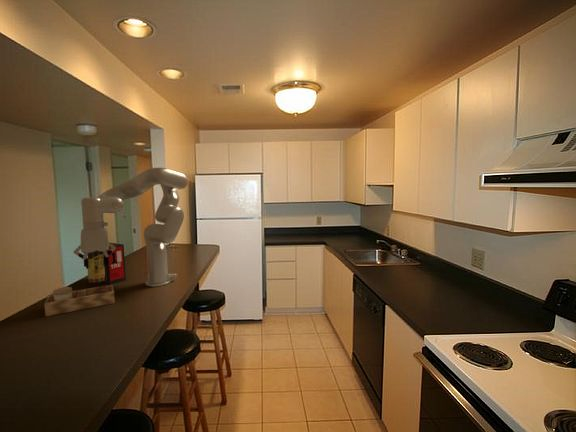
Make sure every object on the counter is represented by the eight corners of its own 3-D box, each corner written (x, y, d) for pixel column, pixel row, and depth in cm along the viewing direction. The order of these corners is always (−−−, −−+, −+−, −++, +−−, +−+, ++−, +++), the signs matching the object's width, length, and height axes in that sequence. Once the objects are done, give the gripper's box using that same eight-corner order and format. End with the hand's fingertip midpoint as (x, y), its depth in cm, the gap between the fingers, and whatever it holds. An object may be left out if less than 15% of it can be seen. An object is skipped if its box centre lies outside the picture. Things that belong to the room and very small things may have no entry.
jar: (74, 303, 128) (72, 285, 127) (73, 308, 123) (71, 290, 122) (55, 307, 125) (53, 288, 124) (53, 312, 120) (52, 293, 119)
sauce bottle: (96, 284, 126) (94, 237, 124) (84, 283, 127) (81, 237, 125) (109, 279, 132) (106, 235, 130) (97, 278, 133) (94, 234, 131)
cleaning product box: (125, 280, 162) (123, 244, 160) (109, 285, 154) (107, 247, 152) (107, 276, 170) (105, 241, 168) (91, 280, 162) (88, 244, 160)
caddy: (113, 296, 138) (112, 284, 138) (114, 304, 129) (114, 291, 129) (49, 308, 126) (47, 295, 125) (45, 318, 116) (44, 304, 116)
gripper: (116, 223, 135) (118, 262, 137) (69, 226, 126) (72, 268, 127) (117, 225, 129) (119, 265, 131) (68, 228, 119) (71, 272, 121)
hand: (96, 266), depth 129 cm, fingers closed on sauce bottle, 6 cm apart
